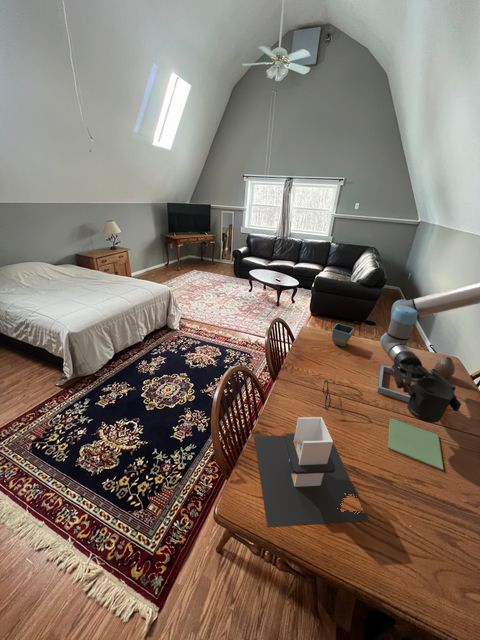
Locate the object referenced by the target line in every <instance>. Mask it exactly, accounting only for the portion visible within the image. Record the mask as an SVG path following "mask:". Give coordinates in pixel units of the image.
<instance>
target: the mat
mask: <svg viewBox="0 0 480 640" xmlns="http://www.w3.org/2000/svg"><path fill="white" fill-rule="evenodd" d="M387 440H388V441H387V449H388V450H389V451H393V452H394V453H397V454H400V455H403V456H404V457H407V458H410V459H412V460H415V461H417V462H419V463H422V464H425V465H427V466H429V467H431V468H435V469H437V470H439V471H444V465H443V458H442V451H441V443H440V439H439V434H437V433H434V432H431V431H429V430H425V429H423V428H420V427H418V426H414V425H411V424H410V423H409V424H408V423H406V422H403V421H401V420H398V419H395V418H392V417H389V426H388V439H387Z"/></svg>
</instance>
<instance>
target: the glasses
mask: <svg viewBox="0 0 480 640" xmlns="http://www.w3.org/2000/svg"><path fill="white" fill-rule="evenodd" d="M325 384H326V391H325ZM329 384H333V385H336V386H340V387H345V388H349V389H352V390H356V391H357V392H359V394H363V393H362V392H361V391H360V390H359V389H357V388H355V387H351V386H348V385H345V384H340V383H335V382H330V381H328V379H325V380H324V381H323V387H322V393H323V395H326V396H325V401H324V408H325V411H326V410H329V408H332V409H336V410H340V411H343V412H348V413H353V414H356V415H358V416H359V415H360V416H363V417H365V418H367V419H368V420H369V421H371V418H369V417H368V416H367V415H365V414H362V413H359V412H356V411H351V410H348V409H344V408H339V407H335V406H332V405H331V404H332V403H331V402H332V401H331V400H332V398H331V394H330V389H329ZM328 398H329V401H328V402H329V403H328V406H327V400H328Z"/></svg>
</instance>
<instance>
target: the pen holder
mask: <svg viewBox="0 0 480 640" xmlns="http://www.w3.org/2000/svg"><path fill="white" fill-rule="evenodd" d="M413 385H415V388H416V389H417V391H419V392H420V393H421V395H422V396H423V398H424V399H425V401H424V403H423V405H422V407H419V406H418V405H417V403H416V402H415V400H414V399H413V397H411V396H410V395H409V396H410V399H409V402H407V405H406V407H407V410H408V411H409V413H410V414H411V415H412V416H413V417H414V418H416V419H418V420H420V421H422V422H425V423H428V424H435V423H438V422H439V421H441V419H442V417H444V414H445V413H446V411H447V409H448V407H449V406H450V405H449V404H450V402H451V400H452V399H453V397H454V395H455V391H453V389H452V388H451V387H450V386H449V385H447V384H446V383H444V382H442V381H440V380H438V379H435V378H431V377H425V376H424V378H421V379H418V380H416V381H414V383H413Z"/></svg>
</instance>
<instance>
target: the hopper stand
mask: <svg viewBox="0 0 480 640" xmlns="http://www.w3.org/2000/svg"><path fill="white" fill-rule="evenodd" d="M330 434H331V433H330V432H329V430H328V428H327V425H326V423H325V421H324V419H323V417H322V416H309V417H308V416H306V417H305V416H303V417H301V416H300V417H297V422H296V427H295V432H294V433H289V434H286V435H257V436H255V435H254V436H253V439H254V446H255V452H256V460H257V466H258V473H259V479H260V488H261V492H262V493H261V494H262V500H263V507H264V514H265V522H266V527H269V528H270V527H285V526H286V527H287V526H300V525H301V526H303V525H318V524H319V525H321V524H337V523H352V522H353V523H355V522H370V520H369V517H368V515H367V513H366V512H365V513H362V512H363V511H365V509H364V507H363V509H364V510H363V511H361V512H360V513H358V512H359V511H357V512H356V511H353V512H349V510H347V511H344V512H341V510H340V509H341V505H342V504H341V503H342V502H341V501H343V500H344V499H343V498H347V497H346V496H349V495H348V494H354V496H355V498H359V496H358V493H357V491H356V489H355V487H354V484H353V483H352V480H351V478H350V476H349V473H348V471H347V469H346V468H345V465H344V462H343V460H342V459H341V457H340V454H339V452H338V450H337V447H336V446H335V444H334V441H333V439H332V436H331V435H330ZM344 493H346V495H345V494H344ZM352 496H353V495H352ZM356 496H357V497H356ZM342 499H343V500H342ZM343 502H344V501H343ZM340 504H341V505H340ZM362 506H363V505H362ZM362 506H361V507H362ZM337 508H338V509H337ZM355 512H356V513H355ZM354 513H355V514H354ZM357 513H358V514H357Z"/></svg>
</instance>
